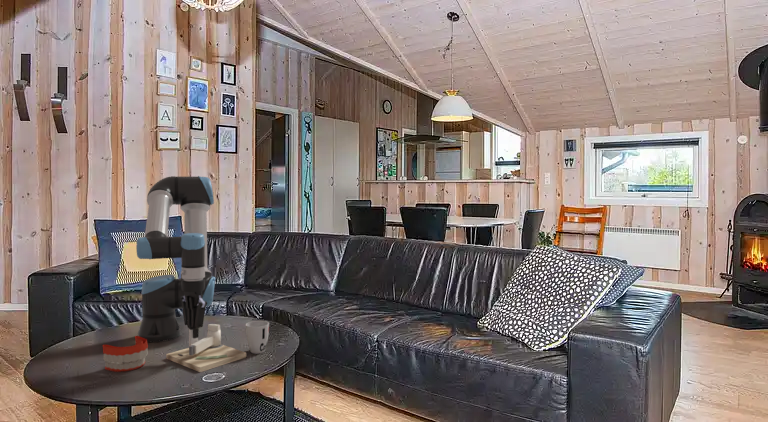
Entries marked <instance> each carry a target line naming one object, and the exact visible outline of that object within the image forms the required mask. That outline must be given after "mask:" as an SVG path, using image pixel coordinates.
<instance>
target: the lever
mask: <svg viewBox="0 0 768 422" xmlns="http://www.w3.org/2000/svg"><path fill="white" fill-rule="evenodd" d="M206 331H207V332H206V333H207V335H206V336H205V337H203V338H202V339H198V341H197V342H196V343H194V344H192V345H190V346H189V345H188V348H189V355H191V356H192V355H194V354H197V353H199V352H201V351H202V350H204V349H206V348H208V347H215V346H219V345H221V343H222V336H221V335H222V330H221V324H215V323H210V324H209V323H208V324H207V330H206Z"/></svg>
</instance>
